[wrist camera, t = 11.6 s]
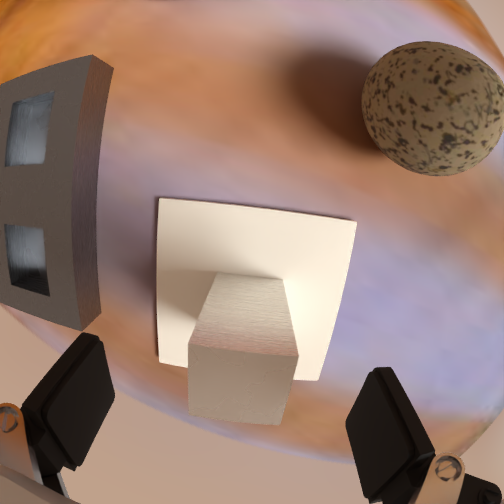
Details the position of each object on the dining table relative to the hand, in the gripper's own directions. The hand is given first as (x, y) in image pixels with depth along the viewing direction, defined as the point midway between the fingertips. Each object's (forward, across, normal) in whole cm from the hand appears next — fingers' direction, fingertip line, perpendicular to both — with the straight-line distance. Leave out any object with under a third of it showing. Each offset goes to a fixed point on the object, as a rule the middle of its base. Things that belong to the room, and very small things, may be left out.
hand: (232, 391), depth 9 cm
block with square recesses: (+10, +16, -5) cm, 19 cm away
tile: (+10, 0, +1) cm, 10 cm away
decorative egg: (+10, -8, -12) cm, 18 cm away
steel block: (+9, 0, +2) cm, 9 cm away
